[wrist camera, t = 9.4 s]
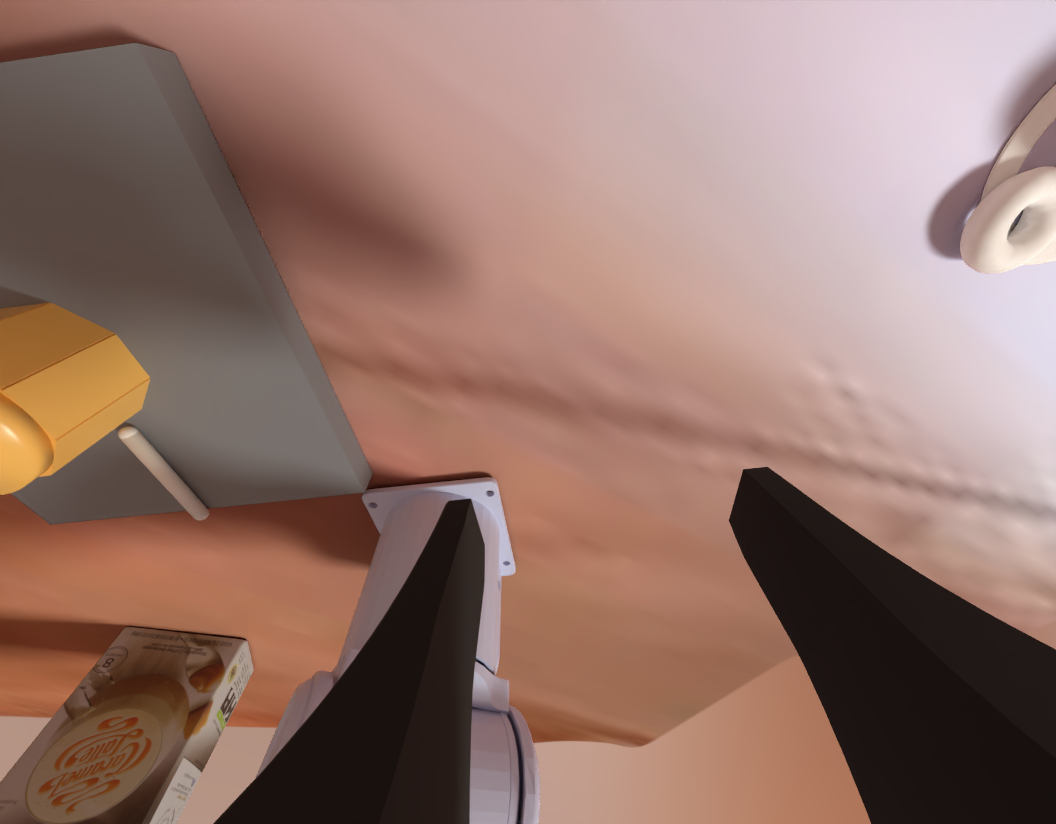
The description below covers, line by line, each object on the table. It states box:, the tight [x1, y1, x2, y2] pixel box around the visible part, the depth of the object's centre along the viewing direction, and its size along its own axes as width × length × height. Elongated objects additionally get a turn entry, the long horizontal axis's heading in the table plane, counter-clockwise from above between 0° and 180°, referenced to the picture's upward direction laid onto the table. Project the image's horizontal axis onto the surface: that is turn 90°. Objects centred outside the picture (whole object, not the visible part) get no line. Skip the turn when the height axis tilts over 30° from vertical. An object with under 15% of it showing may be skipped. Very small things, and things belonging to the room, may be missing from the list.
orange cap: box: [0, 302, 150, 495], centre depth 14 cm, size 5×5×5 cm
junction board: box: [0, 43, 373, 525], centre depth 17 cm, size 18×18×2 cm
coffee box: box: [0, 627, 254, 824], centre depth 27 cm, size 9×6×16 cm
